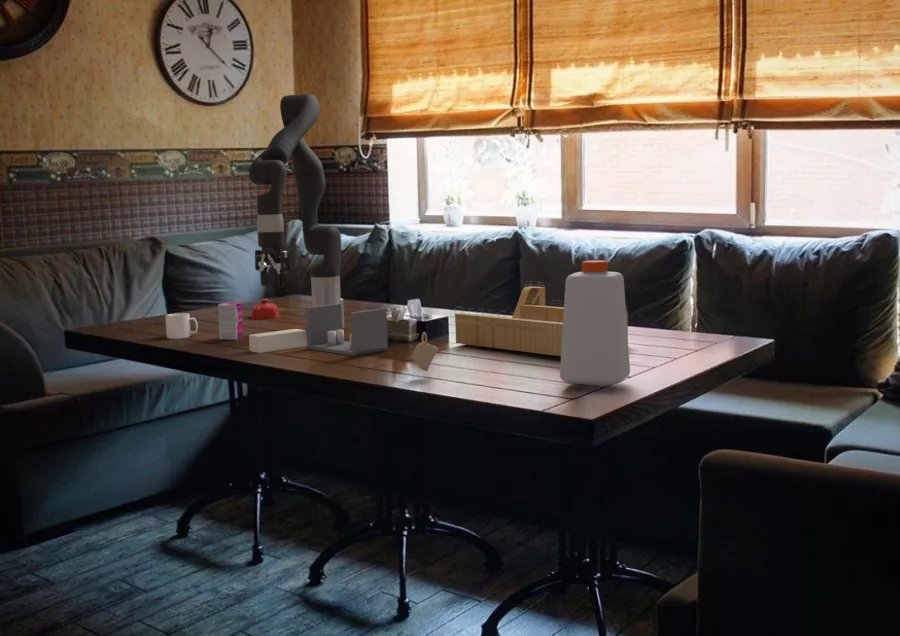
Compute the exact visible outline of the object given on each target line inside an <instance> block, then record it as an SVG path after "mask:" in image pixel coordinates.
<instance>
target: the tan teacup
mask: <svg viewBox="0 0 900 636" xmlns="http://www.w3.org/2000/svg"><path fill="white" fill-rule="evenodd" d="M439 350H440V347H438V346H437V345H434V344H433V345H432V344H430V343H429V342H428V335H427V333H426V331H423V332H422V334H421V342H419V343H418V344H416V346H414V349H413V352H412V359H413V361H414V362H415V364H416V365H418V367H419V368H420V370H422V371H425V372H428V371H429V369H430V366H431V364H432V361H433V360H434V358H435V356H436V354H437V353H438V351H439Z"/></svg>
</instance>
